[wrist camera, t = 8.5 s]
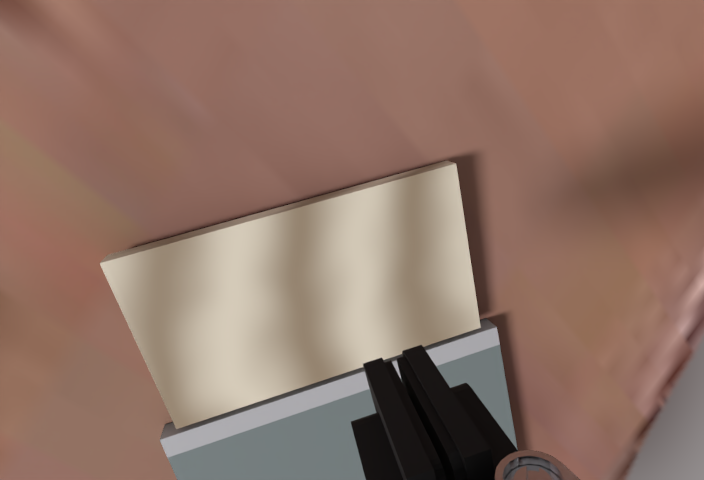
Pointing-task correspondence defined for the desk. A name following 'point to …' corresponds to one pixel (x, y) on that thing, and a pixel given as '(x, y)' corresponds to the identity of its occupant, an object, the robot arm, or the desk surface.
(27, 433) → the desk surface
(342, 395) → the grey rectangular panel
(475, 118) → the desk surface
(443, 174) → the plank
